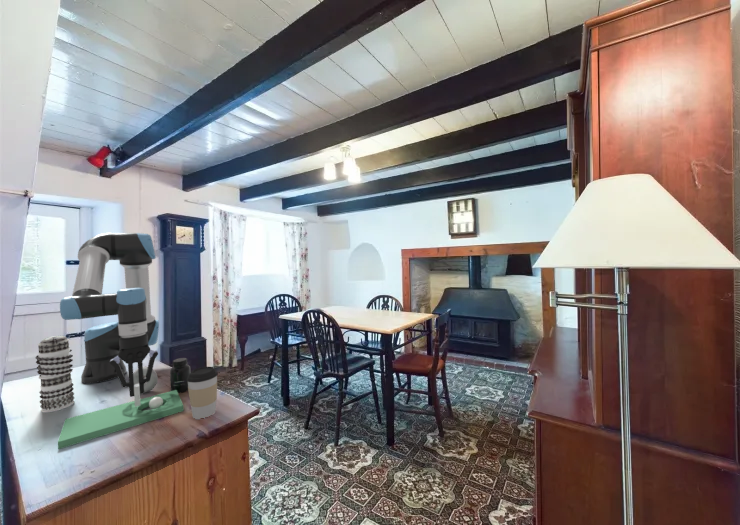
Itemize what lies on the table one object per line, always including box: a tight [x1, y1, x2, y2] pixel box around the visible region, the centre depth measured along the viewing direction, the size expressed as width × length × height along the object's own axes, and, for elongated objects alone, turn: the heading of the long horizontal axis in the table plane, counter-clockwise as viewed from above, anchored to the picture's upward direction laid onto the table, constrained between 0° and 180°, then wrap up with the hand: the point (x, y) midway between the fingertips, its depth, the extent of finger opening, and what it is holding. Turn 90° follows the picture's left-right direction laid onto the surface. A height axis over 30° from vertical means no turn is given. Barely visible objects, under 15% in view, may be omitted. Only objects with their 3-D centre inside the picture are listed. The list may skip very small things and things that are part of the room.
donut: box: [133, 366, 158, 393], centre depth 119 cm, size 10×4×10 cm, turn 84°
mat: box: [57, 390, 185, 450], centre depth 100 cm, size 16×30×2 cm, turn 129°
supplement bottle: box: [169, 357, 191, 394], centre depth 120 cm, size 7×7×12 cm
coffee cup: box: [187, 366, 219, 420], centre depth 101 cm, size 9×9×15 cm
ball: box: [149, 397, 163, 409], centre depth 105 cm, size 4×4×4 cm
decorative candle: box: [35, 335, 75, 413], centre depth 109 cm, size 9×9×25 cm
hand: (137, 404), depth 102 cm, fingers closed
